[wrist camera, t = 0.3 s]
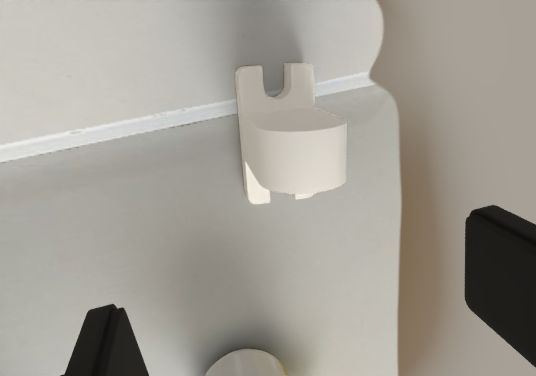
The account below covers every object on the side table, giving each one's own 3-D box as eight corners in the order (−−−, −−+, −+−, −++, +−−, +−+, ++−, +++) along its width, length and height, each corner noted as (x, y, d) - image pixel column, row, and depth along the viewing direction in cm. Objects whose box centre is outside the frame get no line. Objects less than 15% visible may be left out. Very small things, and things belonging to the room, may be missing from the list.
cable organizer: (305, 61, 29) (364, 64, 20) (308, 188, 32) (360, 243, 23) (234, 66, 28) (260, 72, 19) (244, 197, 31) (271, 256, 22)
